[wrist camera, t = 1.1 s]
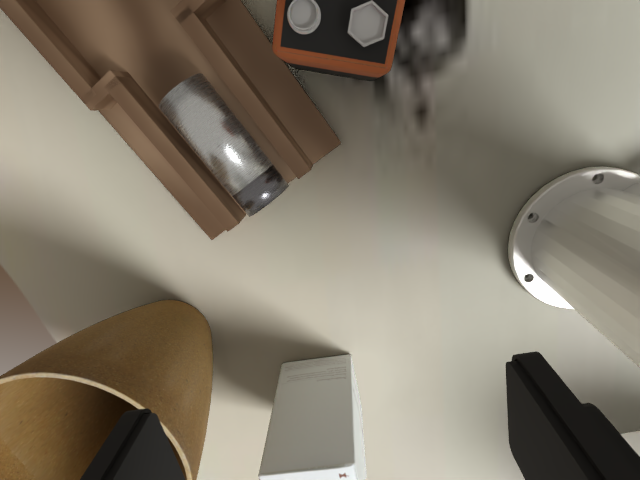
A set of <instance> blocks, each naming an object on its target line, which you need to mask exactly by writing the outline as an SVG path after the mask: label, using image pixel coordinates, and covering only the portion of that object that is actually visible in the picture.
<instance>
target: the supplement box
mask: <svg viewBox="0 0 640 480" xmlns="http://www.w3.org/2000/svg"><path fill="white" fill-rule="evenodd" d="M258 477H259V480H367V475H366V462H365V448H364V435H363V419H362V407H361V401H360V395H359V390H358V385H357V381H356V376H355V371H354V366H353V362H352V357H351V355H350V354H348V355H339V356H331V357H323V358H316V359H308V360H300V361H293V362H287V363H283V364H282V366H281V370H280V375H279V380H278V385H277V389H276V394H275V399H274V404H273V409H272V413H271V419H270V423H269V428H268V433H267V438H266V443H265V447H264V452H263V457H262V461H261V466H260V471H259V475H258Z"/></svg>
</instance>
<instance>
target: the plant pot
mask: <svg viewBox="0 0 640 480" xmlns="http://www.w3.org/2000/svg"><path fill="white" fill-rule="evenodd" d="M212 376H213V348H212V337H211V330H210V327H209V324H208V322H207V320H206V319H205V317H204V316H203V315H202V314H201V313H200V312H199V311H198V310H197V309H196V308H194V307H192V306H191V305H189V304H187V303H184V302H181V301H177V300H162V301H157V302H154V303H150V304H147V305H144V306H140V307H137V308H134V309H131V310H128V311H126V312H123V313H120V314H118V315H115V316H113V317H111V318H108V319H106V320H103V321H101V322H99V323H97V324H94V325H92V326H90V327H88V328H86V329H84V330H82V331H80V332H78V333H75V334H73V335H71V336H70V337H68V338H66V339H64V340H62V341H60V342H58V343H56V344H55V345H53V346H51V347H49V348H47V349H46V350H44V351H42V352H40V353H39V354H37V355H35V356H33V357H32V358H30V359H28V360H27V361H25V362H24V363H22V364H20V365H18V366H17V367H15V368H13V369H12V370H10V371H8V372H7V373H5V374H3V375H1V376H0V480H80V479H81V477H82V475H83V474H84V472H85V471H86V469H87V468H88V466H89V465H90V463H91V462H92V460H93V459H94V457H95V456H96V454H97V453H98V451H99V449H100V448H101V446H102V445H103V443H104V442H105V440H106V439H107V437H108V436H109V434H110V433H111V431H112V430H113V428H114V427H115V425H116V424H117V422H118V420H119V419H120V417H121V416H122V415H123V414H124V413H125V412H126V411H131V410H138V409H145V408H148V409H150V410H151V412H152V413H155V414H157V416H158V418H159V420H160V423H161V425H162V427H163V429H164V432H165V434H166V436H167V438H168V441H169V443H170V445H171V448H172V450H173V452H174V454H175V457H176V459H177V461H178V463H179V466H180V468H181V470H182V472H183V475H184V477H185V479H186V480H196V479H197V474H198V470H199V465H200V460H201V455H202V451H203V446H204V441H205V435H206V429H207V423H208V416H209V409H210V401H211V392H212Z"/></svg>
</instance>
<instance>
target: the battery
mask: <svg viewBox="0 0 640 480" xmlns="http://www.w3.org/2000/svg"><path fill="white" fill-rule="evenodd" d="M404 3H405V0H277V4H276V14H275V24H274V34H273V44H272V50H273V52H274V54H275V55H276V56H277V57H279V58H280V59H282V60H283V61H285V62H286V63H288V64H289V65H291V66H292V67H294V68H296V69H301V70H307V71H313V72H319V73H325V74H331V75H337V76H343V77H349V78H355V79H361V80H367V81H373V80H375V79H377V78H379V77H381V76H383V75H385V74H386V73H388V72H389V71H390V70H391V67H392V63H393V58H394V53H395V48H396V43H397V38H398V33H399V28H400V23H401V18H402V13H403V8H404Z"/></svg>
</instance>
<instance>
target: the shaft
mask: <svg viewBox="0 0 640 480" xmlns="http://www.w3.org/2000/svg"><path fill="white" fill-rule="evenodd" d="M159 108H160V110H161V111H162V112H163V113H164V115H165V116H166V117H167V118H168V119H169V121H170V122H171V123H172V124H173V125H174V127H175V128H176V129H177V130H178V131H179V133H180V134H181V135H182V136H183V137H184V139H185V140H186V141H187V142H188V144H189V145H190V146H191V147H192V148H193V150H194V151H195V152H196V153H197V154H198V156H199V157H200V158H201V159H202V160H203V162H204V163H205V164H206V165H207V166H208V168H209V169H210V170H211V171H212V173H213V174H214V175H215V176H216V177H217V179H218V180H219V181H220V182H221V183H222V185H223V186H224V187H225V188H226V189H227V191H228V192H229V193H230V194H231V196H232V197H233V198H234V199H235V200H236V202H237V203H238V204H239V205H240V206H241V208H242V209H243V210H244V211H245V212H246V214H247V215H248V216H249V217H250V216H252V215H254V214H255V213H257V212H258V211H260V210H261V209H262V208H264V207H265V206H266V205H268V204H269V203H270V202H272V201H273V200H274V199H275V198H276V197H278V196H279V195H280V194H281V193H282V192H283V191H284V190H285V189H286V188H287V187H288V186H289V185H288V183H287V182H286V181H285V179H284V178H283V177H282V175H281V174H280V173H279V172H278V170H277V169H276V168H275V166H274V165H273V164H272V163H271V161H270V160H269V159H268V157H267V156H266V155H265V153H264V152H263V151H262V150H261V148H260V147H259V146H258V144H257V143H256V142H255V141H254V139H253V138H252V137H251V135H250V134H249V133H248V132H247V130H246V129H245V128H244V126H243V125H242V124H241V122H240V121H239V120H238V119H237V117H236V116H235V115H234V113H233V112H232V111H231V110H230V108H229V107H228V106H227V104H226V103H225V102H224V100H223V99H222V98H221V97H220V95H219V94H218V93H217V91H216V90H215V89H214V88H213V86H212V85H211V84H210V82H209V81H208V80H207V79H206V77H205V76H204V75H203V74H202V73H199V74H196V75H193V76H191V77H189V78H187V79H186V80H184V81H182V82H181V83H180V84H178V85H177V86H176V87H174V88H173V89H172V90H171V91H170V92H169V93H168V94H167V95H166V96H165V97H164V98H163V99H162V100H161V102H160V104H159Z"/></svg>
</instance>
